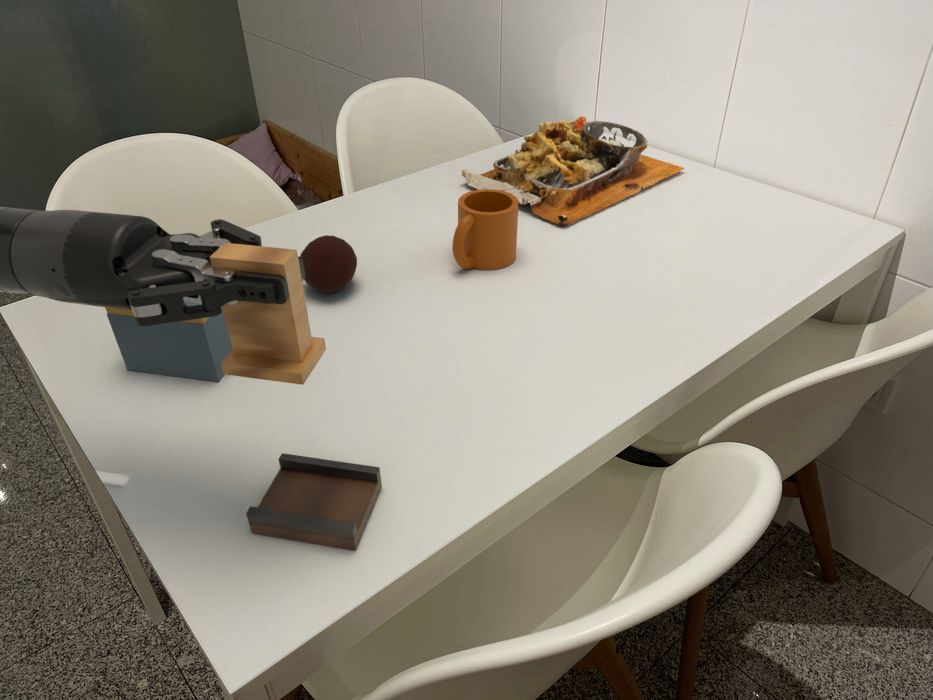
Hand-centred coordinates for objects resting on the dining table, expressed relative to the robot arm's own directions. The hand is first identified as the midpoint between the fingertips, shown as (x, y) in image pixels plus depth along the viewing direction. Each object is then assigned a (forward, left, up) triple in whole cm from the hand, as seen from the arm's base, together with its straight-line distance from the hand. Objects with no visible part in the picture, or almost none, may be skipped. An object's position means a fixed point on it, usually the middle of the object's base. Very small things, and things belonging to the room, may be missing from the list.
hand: (293, 279), depth 53 cm
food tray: (+70, +47, -24) cm, 88 cm away
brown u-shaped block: (-2, -1, -24) cm, 24 cm away
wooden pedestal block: (-2, +2, -8) cm, 9 cm away
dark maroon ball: (+16, +36, -24) cm, 46 cm away
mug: (+38, +31, -24) cm, 55 cm away
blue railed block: (-5, +31, -24) cm, 39 cm away
